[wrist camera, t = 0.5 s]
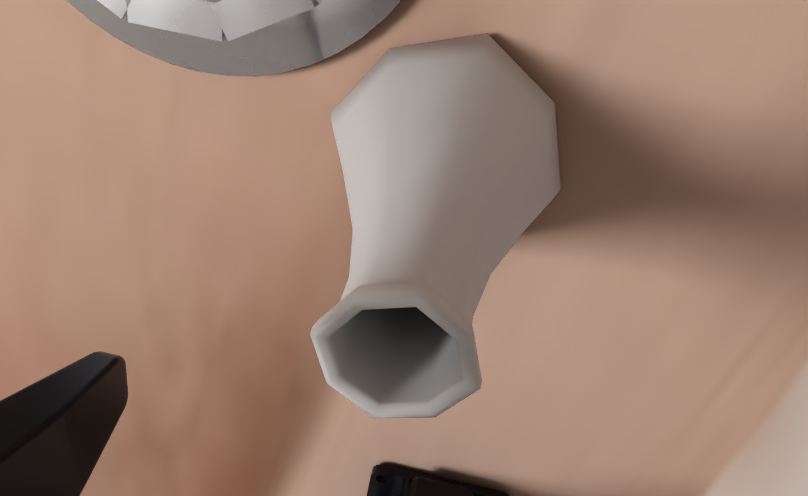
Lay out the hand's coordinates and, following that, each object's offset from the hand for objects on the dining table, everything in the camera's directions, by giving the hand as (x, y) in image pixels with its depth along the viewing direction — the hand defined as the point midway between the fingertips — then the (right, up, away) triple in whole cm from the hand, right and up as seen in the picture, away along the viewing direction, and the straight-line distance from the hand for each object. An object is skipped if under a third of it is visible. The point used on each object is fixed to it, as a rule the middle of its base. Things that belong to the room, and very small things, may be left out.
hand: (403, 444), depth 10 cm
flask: (+1, +6, +11) cm, 13 cm away
